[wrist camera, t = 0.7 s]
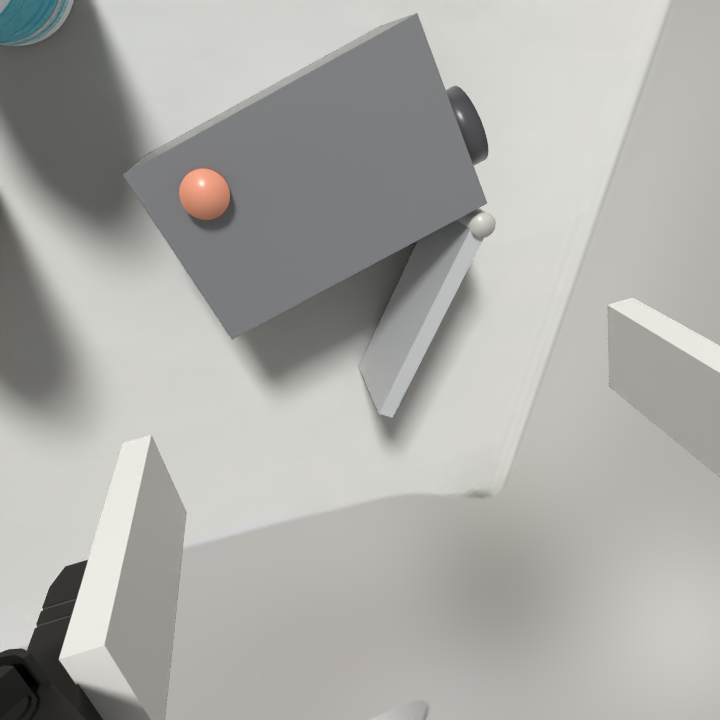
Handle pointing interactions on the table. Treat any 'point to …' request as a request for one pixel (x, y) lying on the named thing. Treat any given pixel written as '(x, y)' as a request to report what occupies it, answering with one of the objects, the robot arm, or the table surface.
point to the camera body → (316, 176)
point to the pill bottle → (31, 20)
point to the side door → (420, 307)
